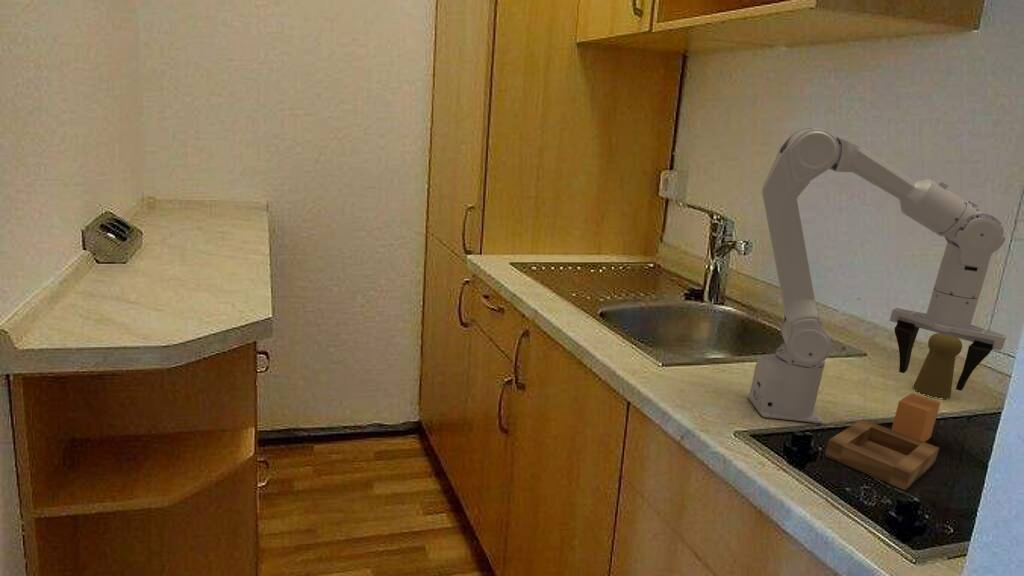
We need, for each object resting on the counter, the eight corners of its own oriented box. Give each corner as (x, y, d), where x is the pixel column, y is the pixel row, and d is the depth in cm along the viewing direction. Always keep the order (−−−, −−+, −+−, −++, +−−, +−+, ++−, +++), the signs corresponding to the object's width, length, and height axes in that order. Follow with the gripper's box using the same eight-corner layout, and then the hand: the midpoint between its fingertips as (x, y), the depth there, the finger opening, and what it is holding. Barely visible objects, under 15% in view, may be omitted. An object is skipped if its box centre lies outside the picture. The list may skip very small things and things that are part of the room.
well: (905, 490, 90) (910, 473, 89) (824, 456, 97) (828, 439, 97) (934, 463, 99) (939, 447, 98) (858, 433, 106) (862, 418, 105)
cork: (916, 382, 131) (931, 327, 128) (952, 393, 128) (969, 337, 125) (909, 390, 127) (925, 333, 124) (947, 402, 123) (964, 343, 120)
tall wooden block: (917, 448, 103) (928, 411, 102) (889, 437, 106) (899, 401, 104) (930, 437, 107) (940, 402, 106) (902, 427, 110) (912, 392, 109)
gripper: (894, 283, 103) (871, 369, 106) (1011, 311, 94) (982, 403, 97) (906, 278, 108) (884, 360, 112) (1018, 303, 99) (990, 391, 103)
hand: (930, 379), depth 105 cm, fingers open, 7 cm apart
